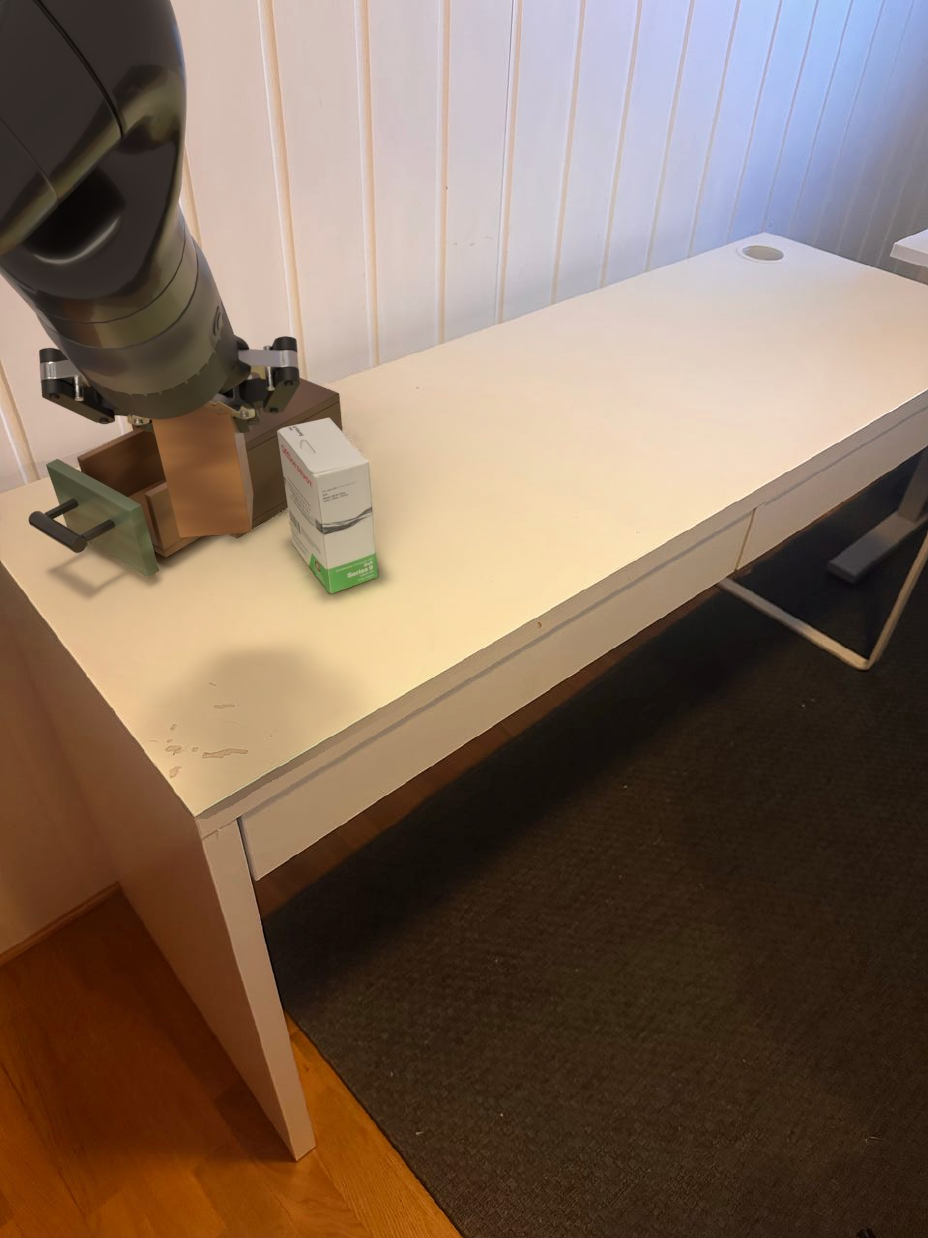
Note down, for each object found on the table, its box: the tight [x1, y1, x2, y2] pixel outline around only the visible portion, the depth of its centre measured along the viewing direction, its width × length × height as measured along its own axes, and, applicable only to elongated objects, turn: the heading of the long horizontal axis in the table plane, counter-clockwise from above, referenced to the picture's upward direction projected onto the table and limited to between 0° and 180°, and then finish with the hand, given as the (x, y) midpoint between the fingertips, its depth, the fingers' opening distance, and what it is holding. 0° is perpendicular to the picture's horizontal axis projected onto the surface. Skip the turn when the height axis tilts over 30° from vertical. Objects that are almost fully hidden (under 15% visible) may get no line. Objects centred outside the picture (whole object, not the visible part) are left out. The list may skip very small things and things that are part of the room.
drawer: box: [27, 427, 202, 578], centre depth 79 cm, size 18×11×7 cm, turn 143°
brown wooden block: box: [152, 407, 253, 537], centre depth 57 cm, size 5×5×10 cm
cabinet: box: [131, 372, 344, 539], centre depth 86 cm, size 15×13×9 cm
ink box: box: [277, 418, 379, 594], centre depth 75 cm, size 9×5×12 cm, turn 30°
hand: (203, 419), depth 57 cm, fingers closed on brown wooden block, 4 cm apart
